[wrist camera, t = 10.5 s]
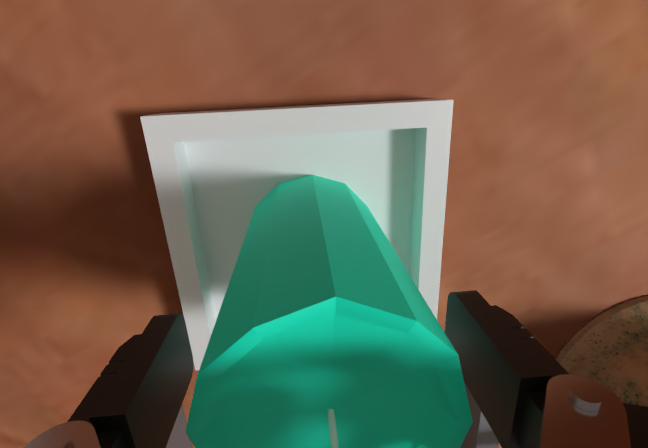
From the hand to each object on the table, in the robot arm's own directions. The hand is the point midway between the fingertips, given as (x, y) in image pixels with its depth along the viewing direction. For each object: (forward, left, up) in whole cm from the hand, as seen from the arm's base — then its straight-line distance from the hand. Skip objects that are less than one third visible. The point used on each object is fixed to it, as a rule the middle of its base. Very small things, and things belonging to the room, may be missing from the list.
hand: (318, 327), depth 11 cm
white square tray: (0, 0, -7) cm, 7 cm away
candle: (0, 0, -7) cm, 7 cm away
